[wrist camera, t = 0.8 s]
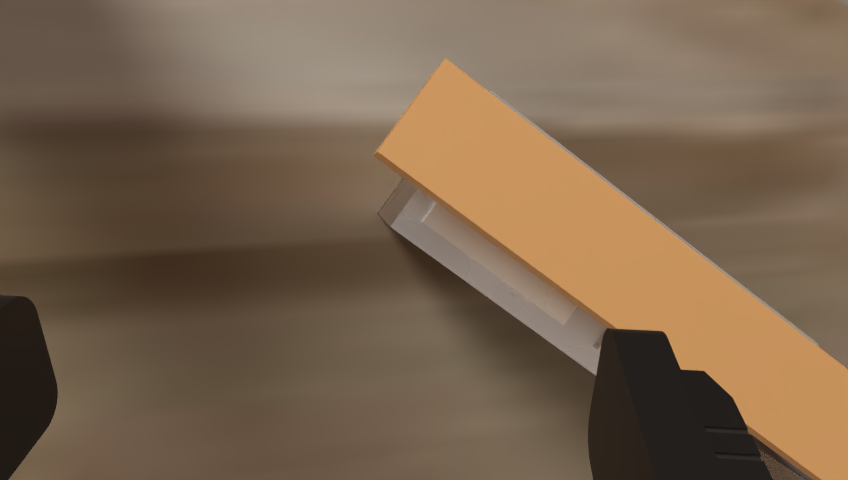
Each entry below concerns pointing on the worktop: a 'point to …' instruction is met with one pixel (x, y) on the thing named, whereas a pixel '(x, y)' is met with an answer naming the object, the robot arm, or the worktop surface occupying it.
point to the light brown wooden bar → (619, 263)
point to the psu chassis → (513, 275)
